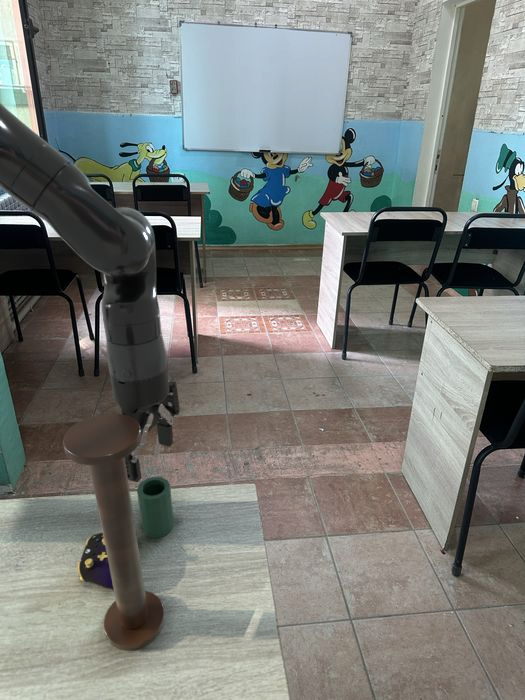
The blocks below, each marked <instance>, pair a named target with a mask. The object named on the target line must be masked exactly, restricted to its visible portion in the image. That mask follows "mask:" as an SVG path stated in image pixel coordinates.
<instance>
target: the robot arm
mask: <svg viewBox="0 0 525 700" xmlns="http://www.w3.org/2000/svg"><path fill="white" fill-rule="evenodd" d="M0 189H1V190H2V191H4V192H5V193H6V194H7V195H9V196H10V197H11V198H13V199H14V200H16V201H17V202H18V203H19V204H21V205H22V206H24V208H26V209H27V210H29V211H30V212H32V213H33V214H34V215H36V216H37V217H39V218H40V219H41V220H43V221H45V222H46V223H47V224H48V225H49V226H50V227H51V228H52V229H53V231H54V232H55V233H56V234H57V235H58V237H60V239H62V240H63V241H64V242H65V243H66V244H67V245H68V247H70V249H72V250H73V252H74V253H75V254H77V256H78V257H80V258H81V259H82V261H84V262H85V263H86V264H87V265H89V266H90V267H92V268H93V269H94V270H96V271H98V272H100V273H102V277H103V284H104V290H103V294H102V299H101V314H102V323H103V327H104V328H103V329H104V334H105V340H106V341H105V342H106V359H107V360H106V361H107V365H108V372H109V377H110V378H109V379H110V383H111V389H112V396H113V399H114V401H115V402H116V404H117V405H118V406H119V408H120V414H124V415H127V416H130V417H132V418H134V419H135V420H136V421H137V422H138V423H139V425H140V429H141V441H140V443H139V445H138V446H137V448H136V449H135V450H134V451H133V452H132V453H130V454H129V455H128V456H126V457H125V463H126V470H127V476H128V481H131V482H135V483H139V482H140V481H141V479H142V470H141V465H140V458H139V455H140V451H141V448H142V447H143V446H144V445H145V444H146V440H147V437H148V434H149V433H150V431H151V430H152V428H153V427H156V430H157V438H158V444H160V445H161V446H165V447H171V446H173V444H174V433H173V424H174V422H175V418H174V417H175V416H178V415H180V411H181V408H180V401H179V393H178V386H177V381H174V380H170V379H169V371H168V363H167V362H168V361H167V352H166V344H165V340H164V337H163V332H162V322H161V313H160V305H159V300H158V293H157V254H156V253H157V252H156V251H157V250H156V249H157V248H156V238H155V232H154V229H153V227H152V225H151V223H150V221H149V220H148V218H147V217H146V216H145V215H144V214H143V213H141V212H140V211H138V210H136V209H134V208H131V207H127V206H119V207H114V206H113V205H111V203H109V202H108V201H107V200H106V199H105V198H103V197H102V196H101V195H100V194H99V193H98V192H96V191H95V190H94V189H93V188H92V186H91V183H90V179H89V178H88V177H87V176H86V174H85V173H84V172H83V171H82V170H81V169H80V168H79V167H78V166H76V164H74V163H73V162H71V160H69V158H67V157H66V156H65V155H63V154H62V153H61V152H59V151H58V150H57V149H56V148H54V147H53V146H52V145H51V144H50V143H48V141H46V140H45V139H44V138H42V137H41V136H40V135H38V133H36V132H35V131H33V130H32V129H31V128H30V127H29V126H27V124H25V123H23V121H22V120H21V119H19V118H18V117H17V116H16V115H14V114H13V113H12V112H11V111H10V110H9V109H8V108H6V107H5V106H4V105H3V104H2V103H1V102H0ZM169 403H170V405H169Z"/></svg>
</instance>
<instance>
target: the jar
mask: <svg viewBox="0 0 525 700" xmlns="http://www.w3.org/2000/svg"><path fill="white" fill-rule="evenodd" d="M136 493H137V494H136V495H137V501H138V508H139V514H140V521H141V527H142V531H143V533H144V535H145V536H147V537H149V538H152V539H153V538H154V539H157V538H163V537H166V536H167V535H168V534H169V533H171V531H173V528H174V526H175V522H174V521H175V518H174V508H173V497H172V488H171V484H170V482H169V480H168V479H166V478H164V477H162V476H152V477H148V478H146V479H144V480H142V481H141V482H140V483H139V484H138V486H137V489H136Z"/></svg>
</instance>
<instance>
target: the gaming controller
mask: <svg viewBox="0 0 525 700" xmlns="http://www.w3.org/2000/svg"><path fill="white" fill-rule="evenodd" d="M77 573H78V575H79V576H80V577H79V581H83V582H84V583H92V584H95V585H97V586H100V587H102V588H104V589H109V590H114V588H113V583H112V578H111V573H110V568H109V563H108V558H107V553H106V548H105V542H104V537H103V532H102V531H101V532H98V533H95V534H93V535H91V536H90V537H88V538H87V540H86V541H85V546H84V549H83V551H82V555H81V558H80V560H79V561H78V563H77Z"/></svg>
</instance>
